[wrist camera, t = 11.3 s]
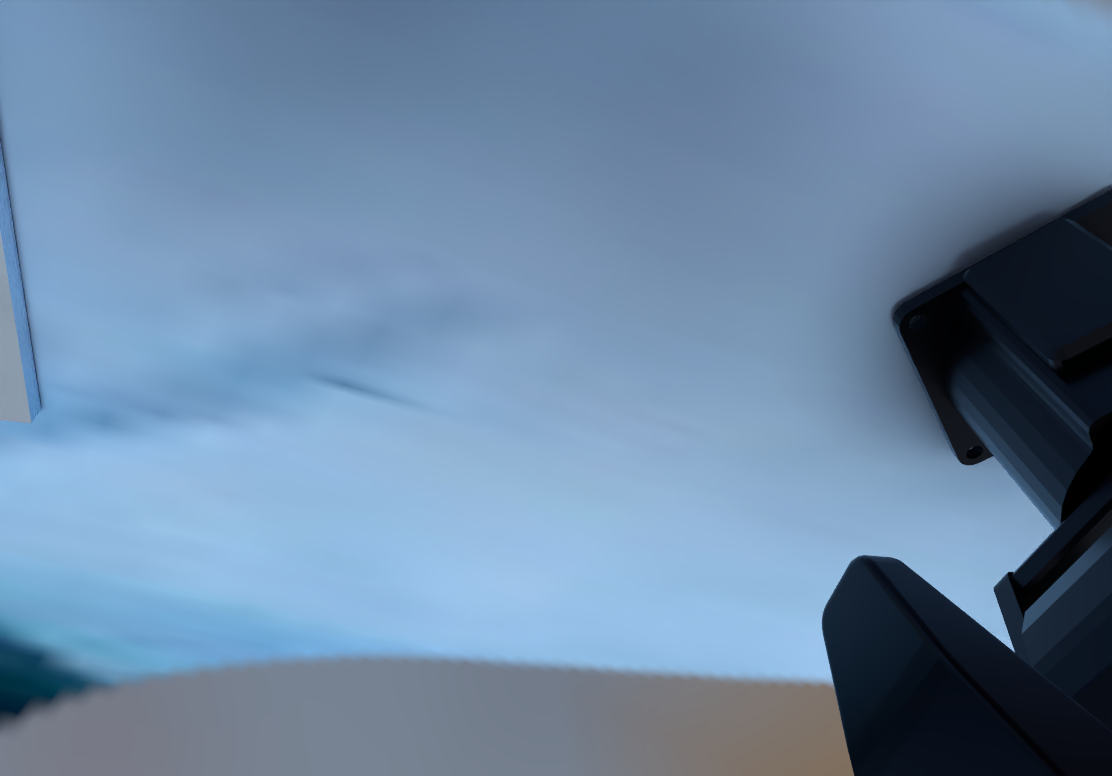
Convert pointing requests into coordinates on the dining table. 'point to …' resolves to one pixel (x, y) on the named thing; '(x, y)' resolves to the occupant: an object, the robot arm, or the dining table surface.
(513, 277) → the dining table surface
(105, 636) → the dining table surface
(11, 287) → the plate
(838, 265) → the dining table surface
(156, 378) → the dining table surface
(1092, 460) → the robot arm
